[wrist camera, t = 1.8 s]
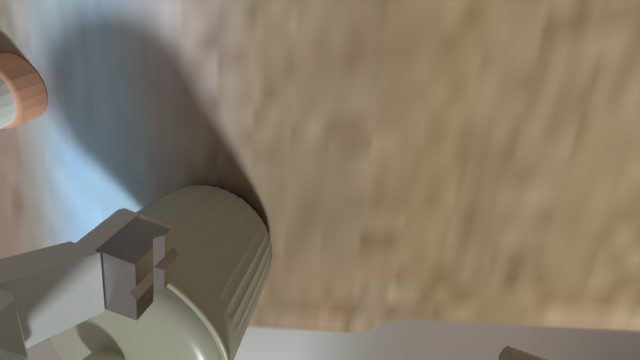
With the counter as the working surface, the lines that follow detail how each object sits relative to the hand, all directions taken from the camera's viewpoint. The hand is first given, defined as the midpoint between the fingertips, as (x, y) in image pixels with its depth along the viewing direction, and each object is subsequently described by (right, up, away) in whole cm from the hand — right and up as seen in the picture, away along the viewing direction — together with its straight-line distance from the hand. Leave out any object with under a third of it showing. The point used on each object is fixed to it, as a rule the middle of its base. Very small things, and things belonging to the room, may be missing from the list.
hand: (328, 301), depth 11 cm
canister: (-11, -3, +41) cm, 42 cm away
